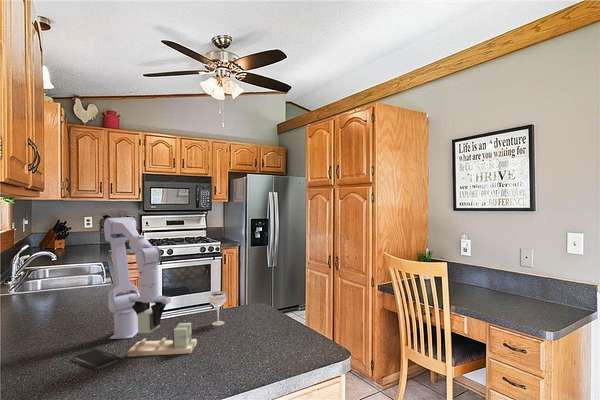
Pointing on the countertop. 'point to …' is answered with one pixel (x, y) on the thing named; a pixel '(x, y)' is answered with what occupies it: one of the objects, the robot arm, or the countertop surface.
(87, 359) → the phone
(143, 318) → the block
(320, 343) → the countertop surface
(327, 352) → the countertop surface
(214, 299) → the wineglass
